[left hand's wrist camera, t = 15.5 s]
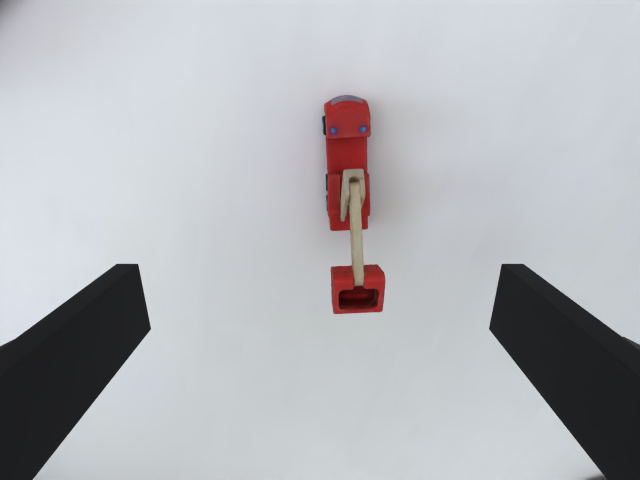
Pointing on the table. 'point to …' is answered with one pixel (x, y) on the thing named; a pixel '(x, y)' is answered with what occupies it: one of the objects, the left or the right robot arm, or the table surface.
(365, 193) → the toy fire truck
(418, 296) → the table surface
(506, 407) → the table surface
